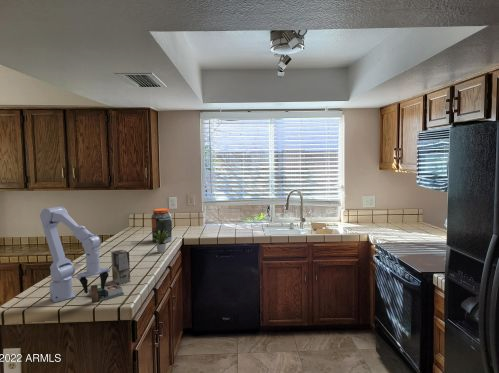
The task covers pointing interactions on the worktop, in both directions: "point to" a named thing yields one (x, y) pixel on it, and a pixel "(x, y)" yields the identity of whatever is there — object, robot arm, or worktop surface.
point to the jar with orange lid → (161, 223)
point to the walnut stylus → (94, 293)
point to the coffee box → (120, 266)
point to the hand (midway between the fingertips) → (94, 290)
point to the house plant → (161, 241)
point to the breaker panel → (109, 292)
